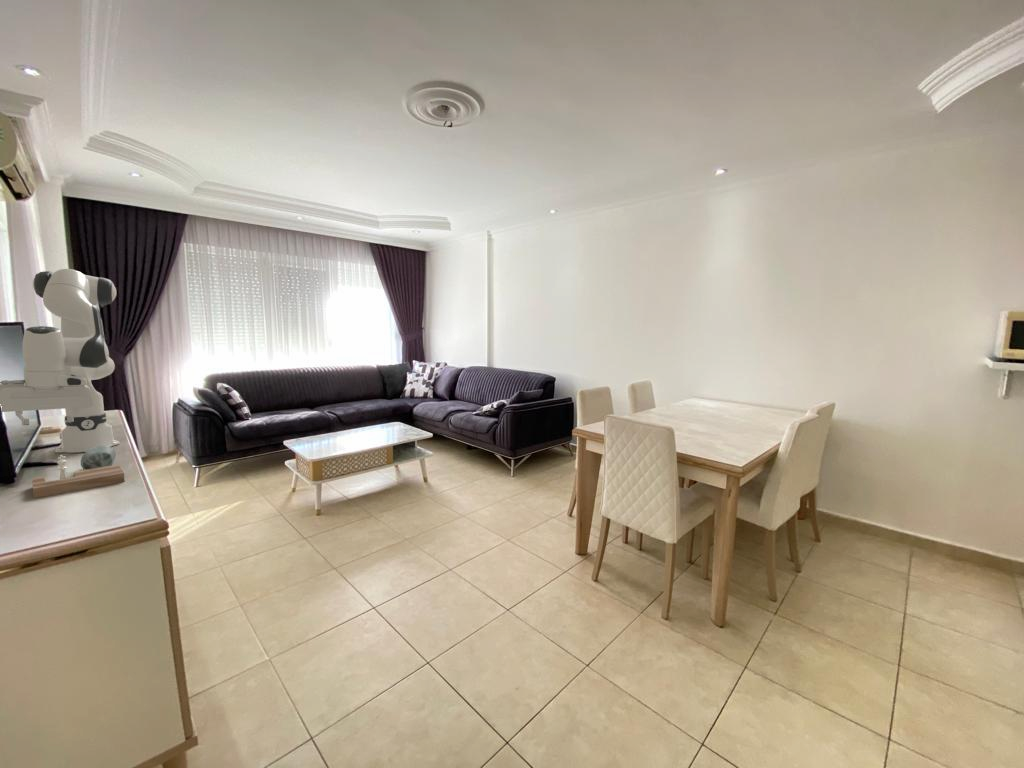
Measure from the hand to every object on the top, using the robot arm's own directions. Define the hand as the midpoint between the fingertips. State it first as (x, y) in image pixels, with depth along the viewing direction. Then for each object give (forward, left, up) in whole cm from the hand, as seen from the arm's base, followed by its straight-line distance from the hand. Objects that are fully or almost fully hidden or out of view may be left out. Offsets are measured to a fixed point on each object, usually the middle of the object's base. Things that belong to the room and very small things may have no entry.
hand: (48, 423), depth 131 cm
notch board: (+3, +5, -21) cm, 21 cm away
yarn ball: (-12, +11, -21) cm, 27 cm away
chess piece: (+1, +2, -21) cm, 21 cm away
